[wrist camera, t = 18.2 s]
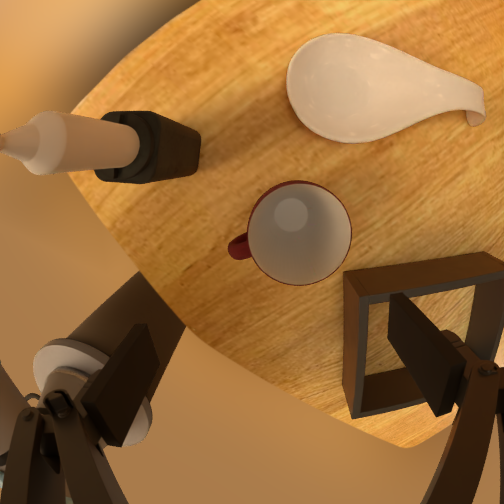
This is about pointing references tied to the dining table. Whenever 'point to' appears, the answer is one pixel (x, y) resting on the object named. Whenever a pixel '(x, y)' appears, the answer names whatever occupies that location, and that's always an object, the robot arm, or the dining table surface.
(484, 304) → the dark rectangular frame
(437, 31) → the dining table surface
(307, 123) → the spoon rest
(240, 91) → the dining table surface
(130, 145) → the candle
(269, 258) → the mug
